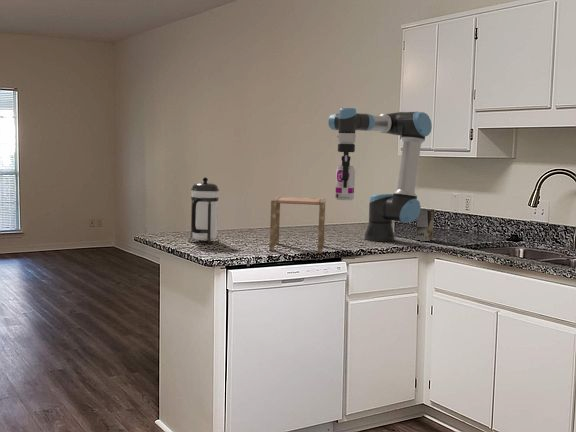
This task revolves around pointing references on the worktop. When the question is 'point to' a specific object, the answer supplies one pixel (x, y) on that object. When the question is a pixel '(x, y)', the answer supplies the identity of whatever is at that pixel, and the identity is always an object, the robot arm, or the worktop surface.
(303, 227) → the worktop surface
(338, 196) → the supplement can
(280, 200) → the trapdoor
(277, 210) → the trapdoor frame
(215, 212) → the coffee press
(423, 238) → the coffee box
